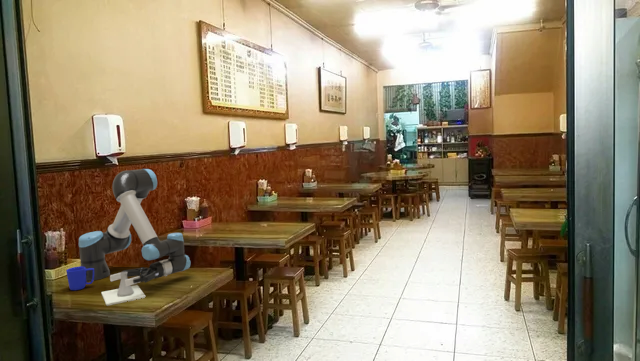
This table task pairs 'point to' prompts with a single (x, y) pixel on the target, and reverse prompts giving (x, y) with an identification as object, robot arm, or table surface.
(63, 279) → the table surface
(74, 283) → the mug
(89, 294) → the table surface
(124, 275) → the flask
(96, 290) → the table surface
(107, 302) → the white rectangular board
